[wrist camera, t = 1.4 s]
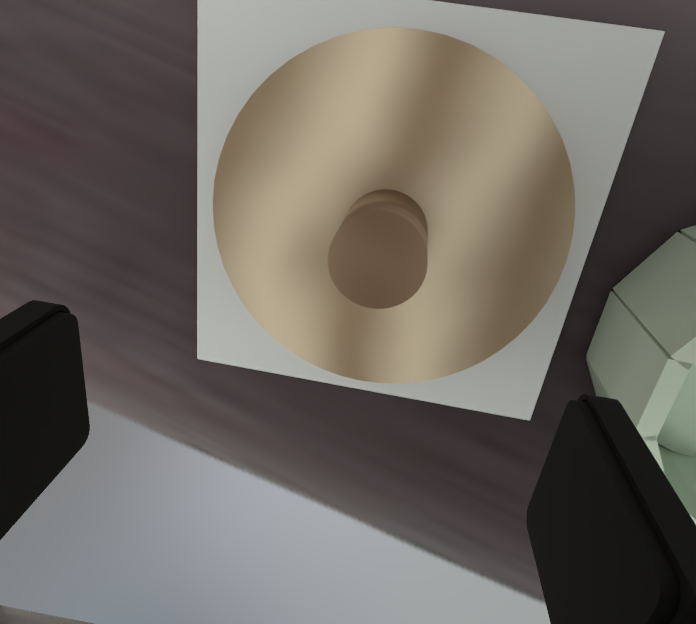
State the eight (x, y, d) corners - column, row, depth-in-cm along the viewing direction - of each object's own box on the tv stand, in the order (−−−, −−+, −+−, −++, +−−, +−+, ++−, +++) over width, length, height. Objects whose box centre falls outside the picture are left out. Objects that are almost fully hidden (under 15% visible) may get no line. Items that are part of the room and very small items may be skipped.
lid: (625, 58, 19) (685, 54, 14) (515, 399, 25) (533, 467, 21) (222, 4, 20) (164, -15, 15) (217, 345, 26) (175, 399, 22)
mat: (660, 32, 18) (664, 31, 18) (528, 415, 26) (529, 420, 25) (201, -29, 20) (197, -31, 19) (200, 354, 27) (197, 358, 27)
